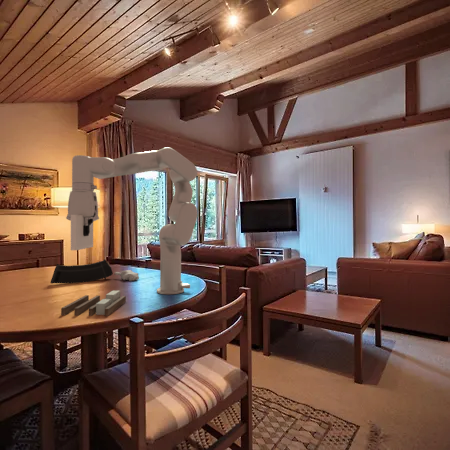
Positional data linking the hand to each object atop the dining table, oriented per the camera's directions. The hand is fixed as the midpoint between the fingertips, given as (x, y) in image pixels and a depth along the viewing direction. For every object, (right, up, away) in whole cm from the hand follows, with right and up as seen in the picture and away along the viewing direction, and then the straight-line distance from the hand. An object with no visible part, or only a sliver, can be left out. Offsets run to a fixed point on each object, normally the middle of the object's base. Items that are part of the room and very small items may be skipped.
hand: (82, 235), depth 116 cm
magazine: (-21, -27, +44) cm, 55 cm away
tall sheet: (0, -5, 0) cm, 5 cm away
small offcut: (+12, -27, -8) cm, 31 cm away
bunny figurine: (+1, -27, +52) cm, 59 cm away
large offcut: (+12, -27, +1) cm, 30 cm away
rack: (+7, -27, -4) cm, 28 cm away
